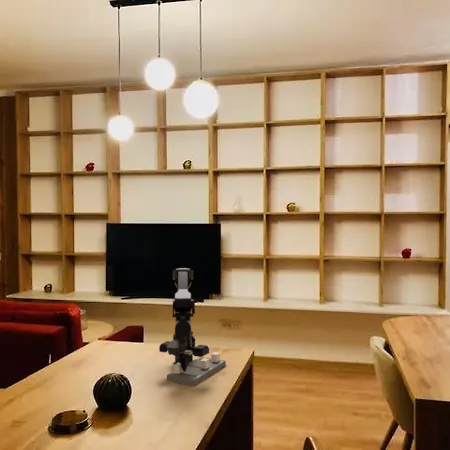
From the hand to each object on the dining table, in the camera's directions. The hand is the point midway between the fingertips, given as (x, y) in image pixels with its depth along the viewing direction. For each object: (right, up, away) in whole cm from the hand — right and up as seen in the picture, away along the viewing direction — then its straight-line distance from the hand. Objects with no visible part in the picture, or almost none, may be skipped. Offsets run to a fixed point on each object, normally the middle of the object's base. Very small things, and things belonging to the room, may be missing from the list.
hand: (184, 371), depth 184 cm
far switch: (+11, 0, +14) cm, 18 cm away
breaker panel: (+4, -3, +7) cm, 9 cm away
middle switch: (+7, 0, +6) cm, 10 cm away
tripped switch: (-2, -1, +1) cm, 3 cm away
